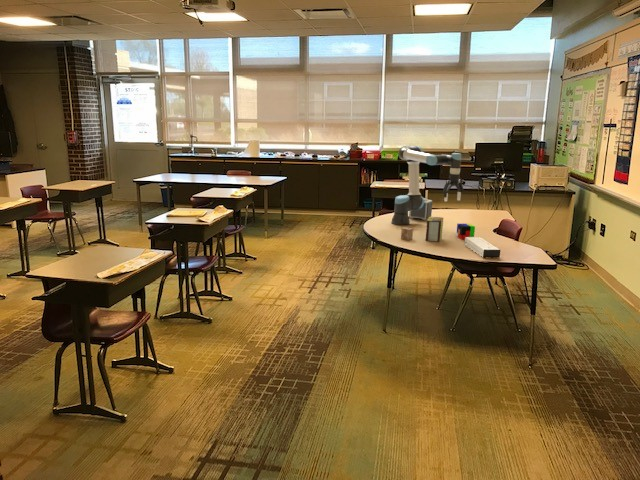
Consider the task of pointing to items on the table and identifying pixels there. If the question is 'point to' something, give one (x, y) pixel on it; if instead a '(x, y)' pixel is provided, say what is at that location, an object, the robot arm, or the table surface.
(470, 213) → the table surface
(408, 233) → the walnut block
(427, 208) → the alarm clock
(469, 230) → the puzzle toy
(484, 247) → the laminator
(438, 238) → the protein box
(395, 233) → the table surface
